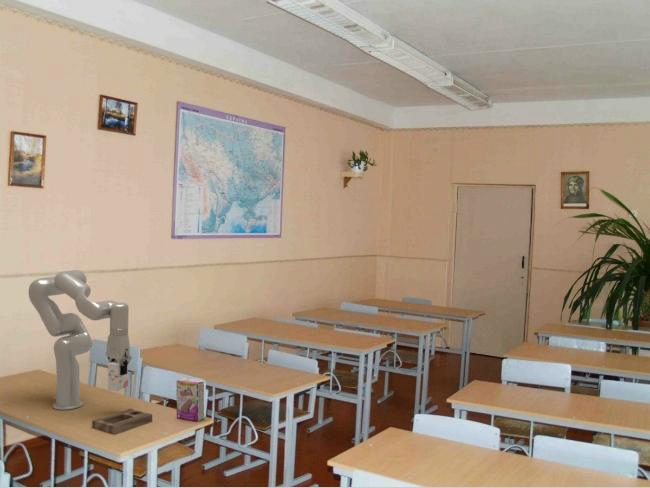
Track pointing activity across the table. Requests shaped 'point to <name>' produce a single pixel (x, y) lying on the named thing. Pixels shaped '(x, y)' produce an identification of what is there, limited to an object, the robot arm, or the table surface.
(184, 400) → the candy bar box
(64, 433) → the table surface
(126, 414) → the socket holder
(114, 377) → the ink cartridge box
